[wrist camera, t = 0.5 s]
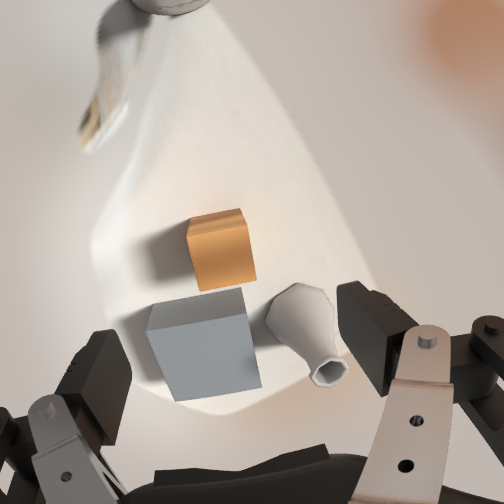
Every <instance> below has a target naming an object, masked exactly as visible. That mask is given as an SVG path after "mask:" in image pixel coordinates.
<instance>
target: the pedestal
mask: <svg viewBox="0 0 504 504" xmlns="http://www.w3.org/2000/svg"><path fill="white" fill-rule="evenodd" d="M145 332H146V335H147V337H148V340H149V342H150V345H151V347H152V350H153V352H154V355H155V357H156V360H157V362H158V364H159V367H160V369H161V371H162V374H163V376H164V378H165V381H166V383H167V385H168V387H169V390H170V392H171V394H172V396H173V398H174V401H175V402H176V401H184V400H192V399H199V398H206V397H212V396H218V395H224V394H230V393H236V392H241V391H246V390H251V389H256V388H261V387H262V385H261V380H260V375H259V370H258V366H257V361H256V356H255V351H254V346H253V341H252V337H251V332H250V327H249V322H248V317H247V312H246V308H245V303H244V299H243V294H242V290H241V288H236V289H231V290H226V291H221V292H216V293H211V294H205V295H200V296H195V297H190V298H184V299H179V300H173V301H168V302H162V303H157V304H153V307H152V310H151V313H150V317H149V320H148V323H147V327H146V330H145Z"/></svg>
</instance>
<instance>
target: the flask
mask: <svg viewBox="0 0 504 504" xmlns="http://www.w3.org/2000/svg"><path fill="white" fill-rule="evenodd" d="M264 322H265V323H266V324H267V326H268V327H269V328H270V329H271V331H272V332H273V333H274V335H275V336H276V337H277V338H278V339H279V340H280V341H281V342H282V343H284V344H285V345H287V346H288V347H290V348H291V349H292V350H294V351H295V352H296V353H297V354H299V355H300V356H301V357H302V358H304V359H305V361H306V362H307V363H308V366H309V368H310V370H311V372H310V374H309V377H310V379H311V380H312V381H313V382H314V383H315V385H316V386H319V387H327V388H330V387H331V386H333V385H335V384H336V383H338V382H340V381H341V380H343V378H344V376H345V375H346V373H347V372H348V370H349V367H348V365H347V364H346V362H345V361H344V359H343V358H342V357H339V356H338V354H337V350H336V347H335V343H334V307H333V306H332V304H331V302H330V301H329V299H328V297H327V296H326V294H325V292H324V291H323V289H319V288H316V287H312V286H309V285H305V284H302V283H297V284H295V285H294V286H292V287H291V288H289V289H288V290H286V291H285V292H283V293H282V294H280V295H278V296H277V297H275V298H274V300H273V303H272V305H271V307H270V309H269V312H268V314H267V316H266V319H265V321H264Z"/></svg>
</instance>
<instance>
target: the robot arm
mask: <svg viewBox="0 0 504 504" xmlns="http://www.w3.org/2000/svg"><path fill="white" fill-rule="evenodd" d="M209 1H210V0H132V2H133V3H134V4H135V5H136V6H137V7H139V8H140V9H141V10H144V11H146V12H148V13H152V14H156V15H177V14H183V13H186V12H190V11H193V10H195V9H197V8H200V7H201V6H203V5H205V4H206V3H208V2H209ZM337 310H338V327H339V331H340V335H341V337H342V339H343V341H344V342H345V344H346V345H347V347H348V348H349V350H350V351H351V353H352V354H353V356H354V357H355V359H356V360H357V361H358V363H359V365H360V366H361V367H362V369H363V371H364V372H365V374H366V375H367V377H368V378H369V380H370V381H371V383H372V384H373V385H374V387H375V389H376V390H377V392H378V393H379V395H380V396H381V397H383V396H386V395H388V397H387V401H386V404H385V408H384V411H383V414H382V417H381V421H380V424H379V427H378V430H377V433H376V436H375V439H374V442H373V445H372V448H371V450H370V453H369V456H368V457H365V456H360V455H354V454H329V453H328V451H327V448H326V446H325V444H320V445H317V446H313V447H310V448H306V449H302V450H298V451H293V452H289V453H285V454H282V455H279V456H277V457H275V458H272V459H270V460H267V461H265V462H263V463H260V464H258V465H255V466H253V467H250V468H248V469H245V470H242V471H220V470H208V469H199V468H189V469H176V470H156V471H155V475H154V482H153V483H149V484H147V485H144V486H141V487H139V488H137V489H134V490H133V491H131V492H129V493H128V491H127V490H126V489H125V487H124V486H123V485H122V483H121V482H120V480H119V479H118V477H117V476H116V474H115V473H114V471H113V470H112V468H111V467H110V465H109V464H108V462H107V460H106V459H105V457H104V456H103V455H102V453H101V452H100V449H101V446H104V445H105V446H106V445H107V446H113V445H115V442H116V438H117V434H118V430H119V426H120V421H121V418H122V414H123V410H124V406H125V402H126V398H127V395H128V391H129V387H130V384H131V381H132V370H131V366H130V363H129V361H128V358H127V356H126V354H125V351H124V349H123V347H122V344H121V342H120V340H119V337H118V335H117V333H116V331H115V330H113V329H109V330H103V331H96V332H94V333H93V334H92V335H91V337H90V339H89V341H88V343H87V345H86V346H84V347H83V348H82V349H81V350H80V351H79V352H77V353H76V354H75V356H74V358H73V360H72V361H71V365H69V367H68V369H67V370H66V371H67V372H66V373H65V374H64V376H63V378H62V380H61V382H60V384H59V385H58V388H57V389H56V391H55V393H54V394H51V395H46V396H44V397H41V398H40V399H38V400H37V401H35V402H34V403H33V404H32V406H31V407H30V409H29V411H28V415H27V416H23V417H19V418H15V419H13V417H12V416H11V414H10V413H9V412H8V410H7V409H6V408H4V407H0V471H1V469H2V466H3V464H4V461H6V462H7V463H8V464H9V465H10V467H12V469H13V470H14V471H15V472H14V475H13V478H12V481H11V484H10V487H9V490H8V493H7V495H5V494H4V493H3V492H2V490H1V489H0V504H46V503H47V504H504V502H499V501H495V500H491V499H487V498H483V497H480V496H476V495H472V494H469V493H465V492H462V491H459V490H456V489H452V488H449V487H446V486H443V485H442V482H443V476H444V470H445V465H446V459H447V453H448V446H449V438H450V430H451V420H452V408H453V404H454V403H458V404H459V405H460V406H461V408H462V409H463V410H464V412H465V413H466V414H467V416H468V417H469V418H470V420H471V421H472V423H473V424H474V425H475V427H476V428H477V429H478V430H479V432H480V434H481V435H482V436H483V437H484V439H485V440H486V442H487V443H488V445H489V446H490V447H491V449H492V450H493V452H494V453H495V455H496V456H497V458H498V459H499V461H500V462H501V463H502V465H503V466H504V391H503V390H502V388H501V387H500V386H499V385H498V384H497V383H496V382H497V380H498V377H499V376H500V377H501V378H502V379H503V381H504V319H503V318H500V317H497V316H482V317H479V318H477V319H476V320H475V321H474V322H473V325H472V330H471V333H470V334H464V335H457V336H449V334H448V332H446V331H445V330H444V329H442V328H440V327H438V326H434V325H419V324H418V323H417V322H416V321H414V320H413V319H412V318H411V317H410V316H409V315H408V314H407V313H406V312H405V311H404V310H402V309H400V307H399V306H398V305H397V304H395V303H394V302H393V301H392V300H391V299H390V298H389V297H388V296H387V295H385V294H383V293H380V292H378V291H375V290H372V291H369V290H368V289H367V288H366V287H365V286H364V285H363V284H361V283H360V282H359V281H354V282H349V283H345V284H341V285H338V286H337Z"/></svg>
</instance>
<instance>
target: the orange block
mask: <svg viewBox="0 0 504 504" xmlns="http://www.w3.org/2000/svg"><path fill="white" fill-rule="evenodd" d="M186 238H187V242H188V247H189V251H190V255H191V259H192V263H193V267H194V271H195V275H196V279H197V283H198V287H199V291H200V292H201V291H206V290H211V289H216V288H221V287H226V286H232V285H237V284H242V283H246V282H251V281H256V280H257V278H256V273H255V267H254V261H253V255H252V250H251V244H250V238H249V232H248V227H247V223H246V221H245V219H244V217H243V214H242V212H241V210H240V208H238V209H233V210H228V211H223V212H217V213H212V214H207V215H203V216H198V217H193V218H191V219H190V223H189V227H188V231H187V236H186Z"/></svg>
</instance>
